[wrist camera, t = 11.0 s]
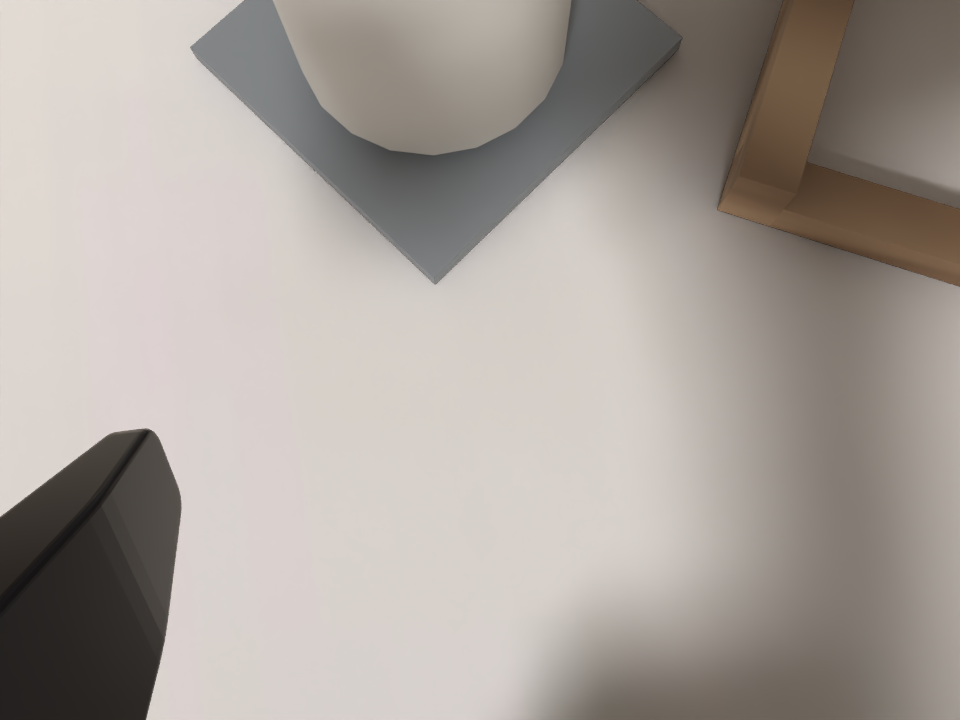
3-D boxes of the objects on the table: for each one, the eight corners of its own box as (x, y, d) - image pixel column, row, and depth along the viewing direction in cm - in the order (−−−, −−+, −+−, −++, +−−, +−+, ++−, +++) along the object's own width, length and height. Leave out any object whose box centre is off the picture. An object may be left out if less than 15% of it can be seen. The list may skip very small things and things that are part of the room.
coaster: (434, 284, 23) (433, 278, 23) (197, 59, 25) (190, 47, 24) (678, 49, 25) (682, 37, 24) (437, -150, 26) (435, -166, 26)
